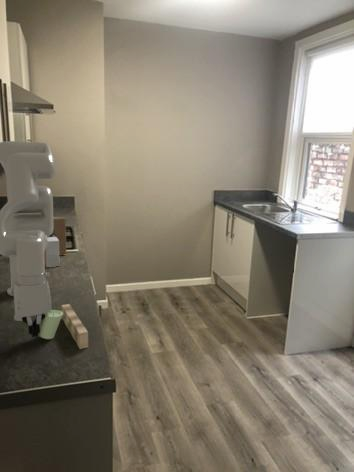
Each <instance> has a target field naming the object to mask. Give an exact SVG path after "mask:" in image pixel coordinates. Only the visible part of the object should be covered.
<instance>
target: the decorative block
mask: <svg viewBox="0 0 354 472" xmlns="http://www.w3.org/2000/svg"><path fill="white" fill-rule="evenodd" d="M66 221H67V219H66V217H64V216H53V233H52V234H53V237H57V238H58V240H59V255H63V256H65V255H64V254H66V255H67V227H66V225H67V224H66V223H67V222H66Z"/></svg>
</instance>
